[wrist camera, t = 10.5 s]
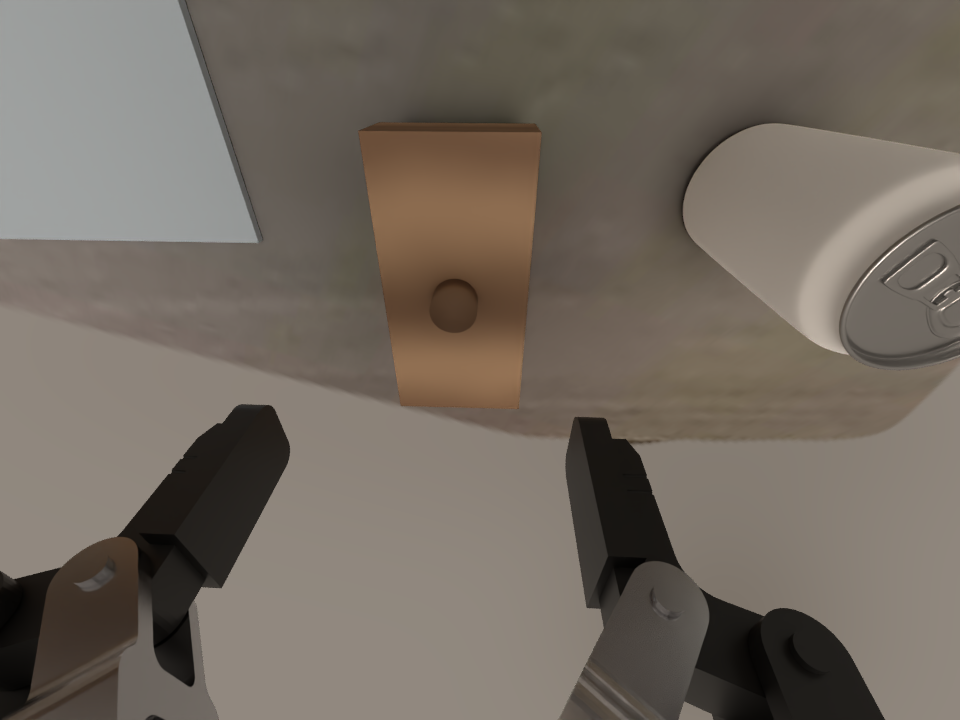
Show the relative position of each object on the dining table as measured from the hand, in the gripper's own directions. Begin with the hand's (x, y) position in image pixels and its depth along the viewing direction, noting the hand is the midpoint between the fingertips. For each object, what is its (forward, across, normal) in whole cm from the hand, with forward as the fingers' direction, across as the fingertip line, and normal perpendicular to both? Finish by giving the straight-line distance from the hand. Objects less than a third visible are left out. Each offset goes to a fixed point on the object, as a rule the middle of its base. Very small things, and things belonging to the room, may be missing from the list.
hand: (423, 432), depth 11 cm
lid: (+11, 0, 0) cm, 11 cm away
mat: (+15, +20, -6) cm, 26 cm away
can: (+16, -15, -3) cm, 22 cm away
